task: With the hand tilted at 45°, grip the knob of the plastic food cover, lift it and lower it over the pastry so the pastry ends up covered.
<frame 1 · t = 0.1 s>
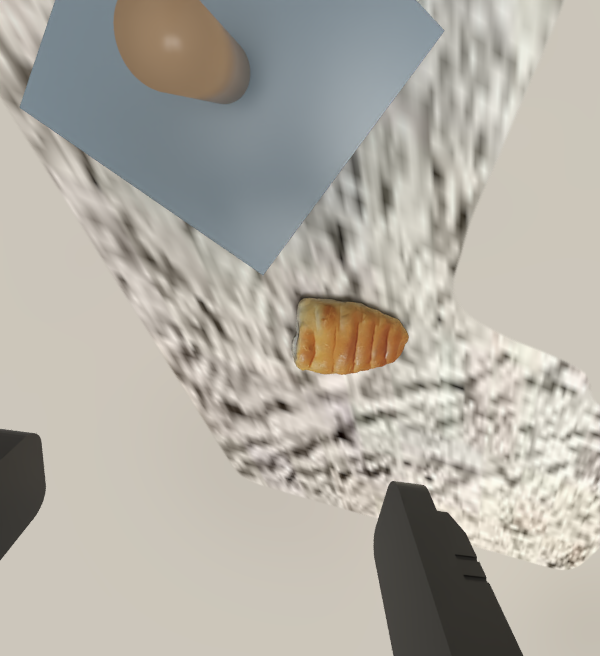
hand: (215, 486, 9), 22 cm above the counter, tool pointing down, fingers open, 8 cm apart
pastry: (339, 327, 33), on the counter
cover: (245, 85, 24), on the counter
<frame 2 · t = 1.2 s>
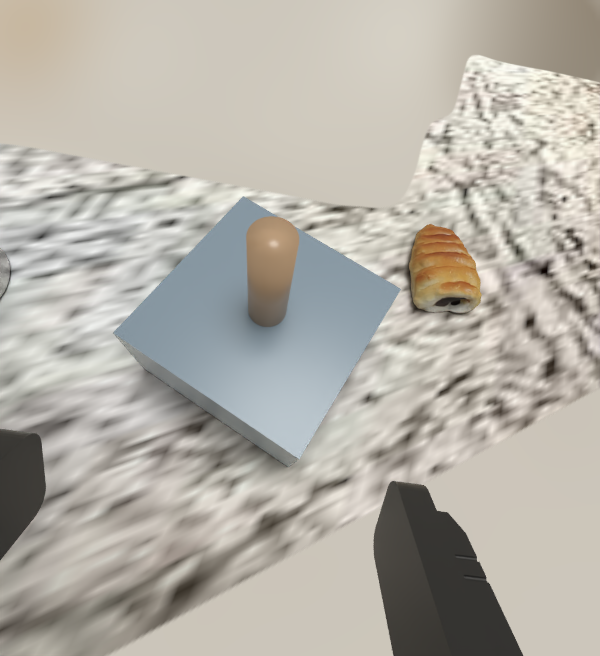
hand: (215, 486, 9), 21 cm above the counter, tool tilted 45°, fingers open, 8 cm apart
pastry: (434, 280, 38), on the counter
cover: (264, 348, 33), on the counter
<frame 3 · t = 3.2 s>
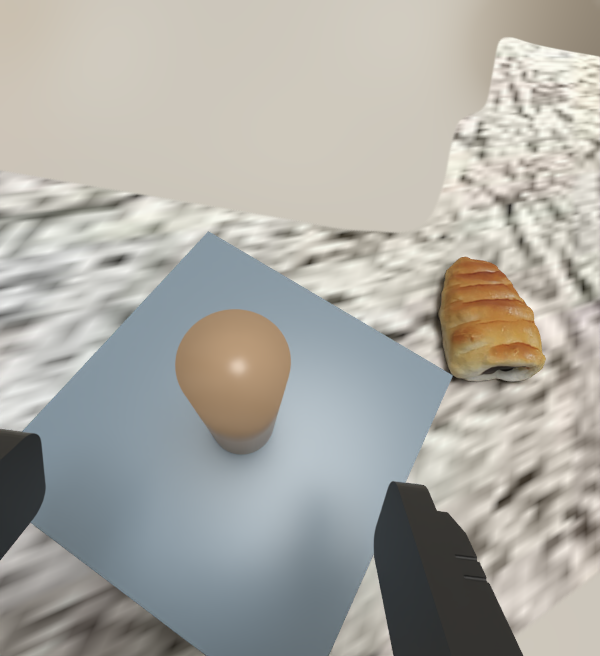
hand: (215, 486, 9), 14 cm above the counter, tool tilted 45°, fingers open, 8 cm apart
pastry: (472, 333, 28), on the counter
cover: (246, 444, 23), on the counter
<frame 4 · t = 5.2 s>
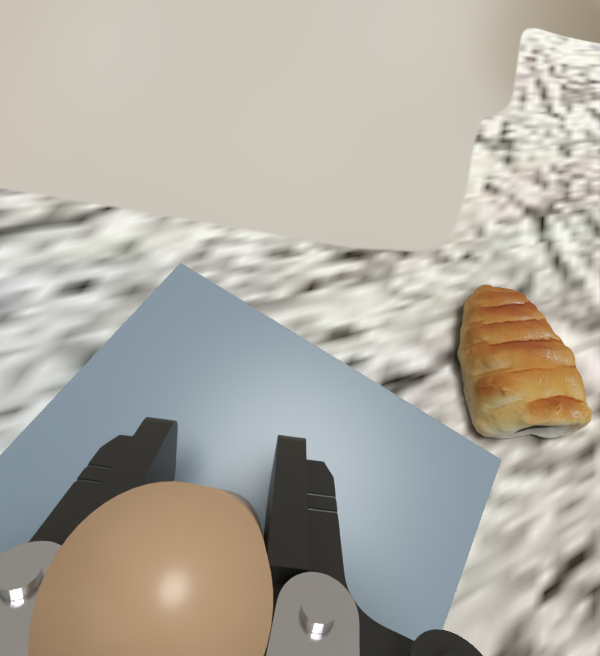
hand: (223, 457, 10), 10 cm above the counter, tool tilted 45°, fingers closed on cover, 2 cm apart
pastry: (497, 376, 24), on the counter
cover: (231, 521, 18), on the counter, touching gripper
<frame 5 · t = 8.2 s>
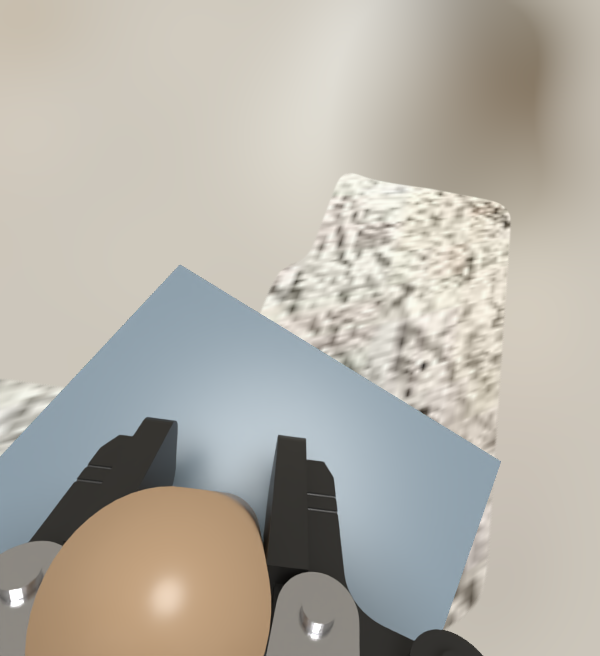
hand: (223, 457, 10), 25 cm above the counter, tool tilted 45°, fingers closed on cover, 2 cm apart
cover: (231, 522, 18), point 15 cm above the counter, touching gripper
when the fingers open (12 cm above the counter, at t = 11.2 s): cover stays where it is, point 1 cm above the counter.
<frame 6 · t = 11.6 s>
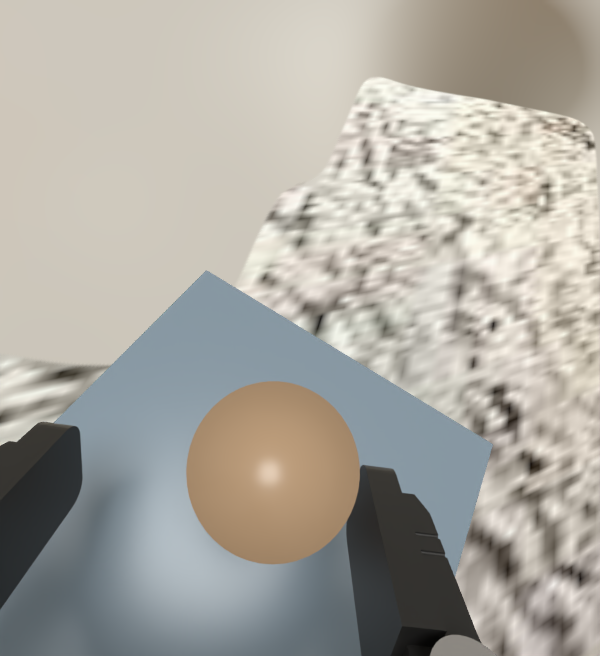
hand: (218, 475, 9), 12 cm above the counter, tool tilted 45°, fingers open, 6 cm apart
cover: (238, 521, 19), point 1 cm above the counter, tilted 7°
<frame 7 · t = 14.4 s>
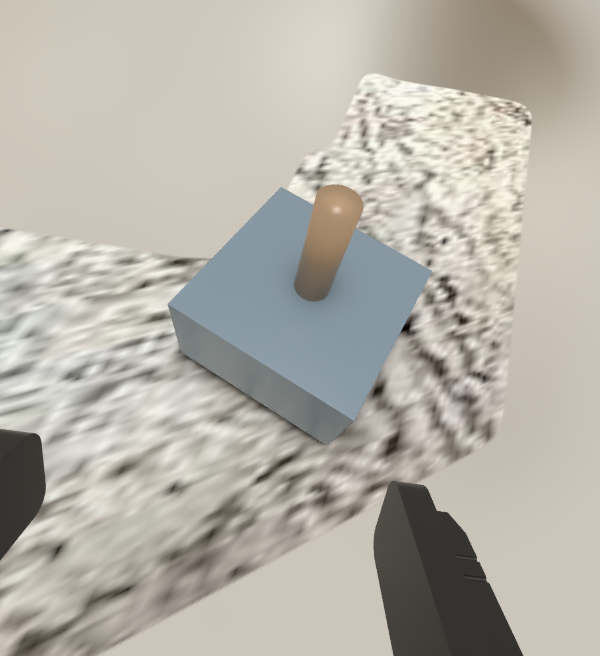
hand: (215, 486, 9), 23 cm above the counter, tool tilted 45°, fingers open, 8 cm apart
cover: (296, 333, 34), point 1 cm above the counter, tilted 7°
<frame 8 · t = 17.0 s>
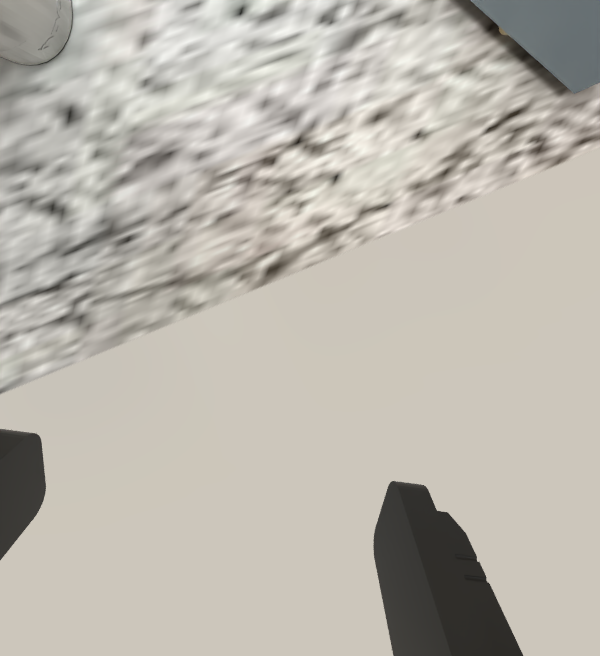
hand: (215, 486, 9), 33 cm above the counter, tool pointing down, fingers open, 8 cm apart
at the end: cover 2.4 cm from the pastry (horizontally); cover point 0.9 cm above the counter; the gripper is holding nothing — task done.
